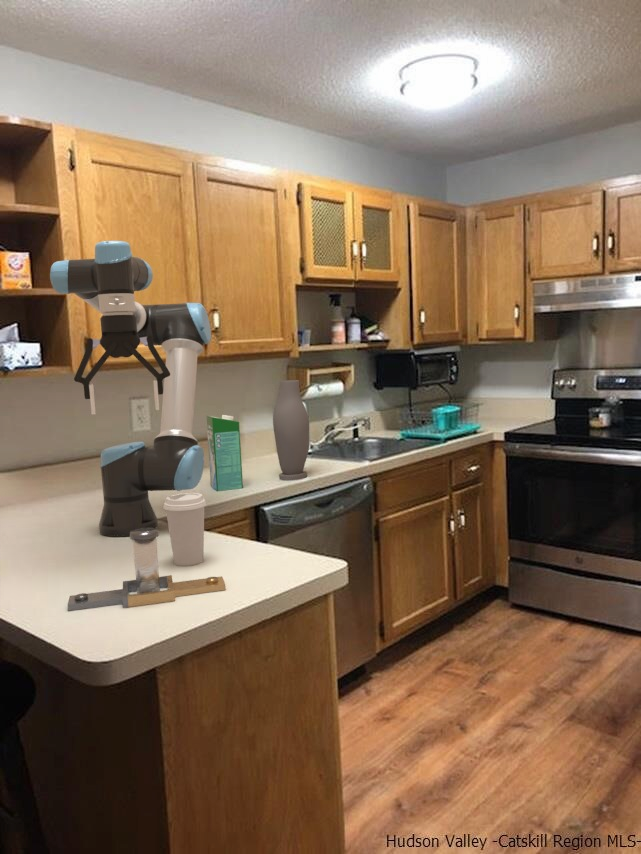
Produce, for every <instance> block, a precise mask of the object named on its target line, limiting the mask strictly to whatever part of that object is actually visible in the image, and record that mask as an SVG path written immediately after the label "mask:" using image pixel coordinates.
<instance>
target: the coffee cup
mask: <svg viewBox="0 0 641 854" xmlns="http://www.w3.org/2000/svg"><path fill="white" fill-rule="evenodd" d="M206 506H207V502H206V499H205V498H204V496H203V494H202V493H198V492H182V493H175V494H170V495H168V496H166V498H165V501H164V503H163V507H162V509H164V510H165V514H166V520H167V526H168V532H169V539H170V546H171V550H172V557H173V563H175V565H176V566H179V567H189V566H191V567H192V566H194V565H198V564H201V563H202V562H204V550H205V549H204V545H205V544H204V543H205V542H204V541H205V537H204V535H205V507H206Z"/></svg>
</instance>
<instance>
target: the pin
mask: <svg viewBox="0 0 641 854" xmlns="http://www.w3.org/2000/svg"><path fill="white" fill-rule="evenodd" d="M159 534H160V532H159V529H158V528H140V529H135V530H133V531H131V532H130V536H129V539H130V540H132V544H133V560H134V572H135V580H136V588H137V591H136V594H140V593H148V592H155V591H161V588H160V584H159V577H160V574H159V573H160V572H159V558H158V557H159V556H158V543H157V538H158V537H159V536H160V535H159Z"/></svg>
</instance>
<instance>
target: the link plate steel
mask: <svg viewBox="0 0 641 854" xmlns="http://www.w3.org/2000/svg"><path fill="white" fill-rule="evenodd" d="M167 576H168V575H163V576H159V584H160V589H163V588H168V587H167ZM131 592H137V588H136V579H131V580H125V581H122V588H121V589H114V590H103V591H98V592H97V591H96V592H90V593H89V592H88V593H84V592H83V593H78V594H74V595H69V598H68V602H67V611H68V612H70V611H79V610H86V609H92V608H93V609H94V608H101V607H108V606H115V605H117V606H118V605H122V608H123V609H125V608H130V607H129V606H128V595H130V593H131Z"/></svg>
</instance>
